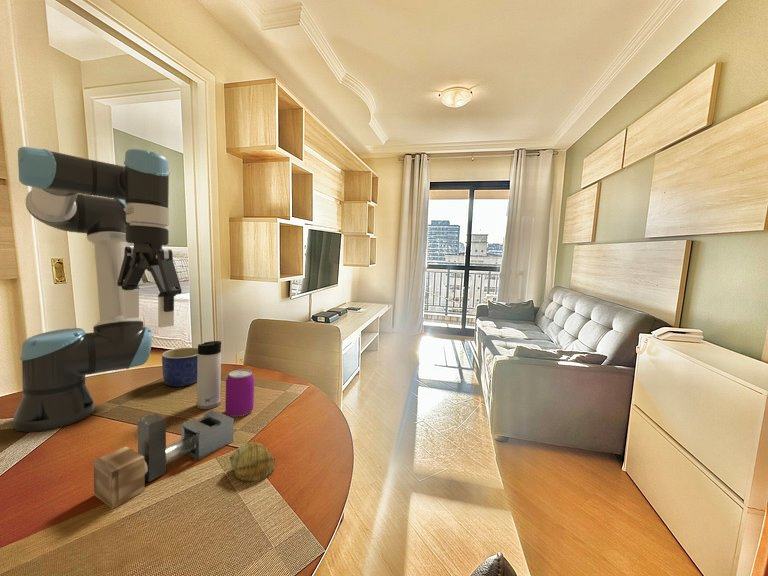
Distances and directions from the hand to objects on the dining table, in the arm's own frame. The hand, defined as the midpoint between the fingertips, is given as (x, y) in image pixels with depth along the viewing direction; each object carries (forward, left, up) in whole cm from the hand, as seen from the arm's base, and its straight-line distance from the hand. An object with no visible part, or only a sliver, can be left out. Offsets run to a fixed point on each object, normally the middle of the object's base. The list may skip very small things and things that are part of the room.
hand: (148, 322), depth 71 cm
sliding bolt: (+9, -3, -30) cm, 32 cm away
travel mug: (-10, +22, -31) cm, 39 cm away
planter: (-33, +28, -31) cm, 53 cm away
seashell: (+25, +8, -31) cm, 41 cm away
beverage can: (+1, +24, -31) cm, 39 cm away
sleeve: (+9, +8, -31) cm, 33 cm away
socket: (+9, -10, -31) cm, 33 cm away
